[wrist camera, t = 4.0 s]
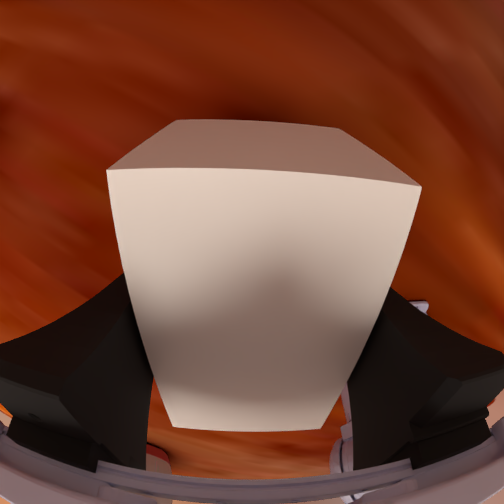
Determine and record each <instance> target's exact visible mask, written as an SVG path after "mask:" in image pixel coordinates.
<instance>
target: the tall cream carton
mask: <svg viewBox="0 0 504 504" xmlns="http://www.w3.org/2000/svg"><path fill="white" fill-rule="evenodd" d="M107 178H108V186H109V193H110V200H111V207H112V213H113V219H114V225H115V230H116V236H117V241H118V246H119V251H120V256H121V260H122V265H123V270H124V274H125V278H126V283H127V287H128V291H129V295H130V299H131V303H132V306H133V310H134V314H135V317H136V321H137V325H138V328H139V331H140V335H141V338H142V341H143V345H144V348H145V351H146V354H147V357H148V360H149V363H150V366H151V369H152V372H153V375H154V378H155V381H156V384H157V387H158V389H159V392H160V395H161V397H162V400H163V403H164V405H165V408H166V411H167V413H168V416H169V418H170V421H171V423H172V425H173V427H180V428H190V429H203V430H219V431H293V430H309V429H320V428H321V427H322V425H323V423H324V422H325V420H326V418H327V417H328V415H329V413H330V411H331V410H332V408H333V406H334V404H335V403H336V401H337V399H338V397H339V395H340V394H341V392H342V390H343V388H344V386H345V384H346V382H347V380H348V379H349V377H350V375H351V373H352V371H353V369H354V367H355V365H356V363H357V361H358V359H359V357H360V355H361V353H362V350H363V348H364V346H365V344H366V342H367V340H368V338H369V335H370V333H371V331H372V329H373V326H374V324H375V322H376V320H377V317H378V315H379V313H380V310H381V308H382V305H383V303H384V300H385V298H386V296H387V293H388V290H389V288H390V285H391V283H392V280H393V277H394V275H395V272H396V269H397V266H398V264H399V261H400V258H401V255H402V252H403V249H404V246H405V243H406V240H407V237H408V234H409V231H410V228H411V224H412V221H413V218H414V214H415V211H416V207H417V204H418V200H419V196H420V193H421V189H422V186H420V185H419V184H418V183H417V182H415V181H414V180H413V179H411V178H410V177H409V176H407V175H406V174H405V173H404V172H402V171H401V170H400V169H398V168H397V167H395V166H394V165H393V164H391V163H390V162H389V161H387V160H386V159H384V158H383V157H381V156H380V155H379V154H377V153H376V152H374V151H373V150H371V149H370V148H368V147H367V146H365V145H364V144H362V143H361V142H359V141H358V140H356V139H355V138H353V137H352V136H350V135H349V134H347V133H345V132H344V131H342V130H341V129H338V128H331V127H323V126H314V125H305V124H294V123H283V122H269V121H251V120H213V119H199V120H175V121H174V122H172V123H171V124H169V125H168V126H166V127H165V128H163V129H162V130H160V131H159V132H157V133H156V134H154V135H153V136H152V137H150V138H149V139H147V140H146V141H144V142H143V143H142V144H140V145H139V146H137V147H136V148H135V149H133V150H132V151H131V152H129V153H128V154H127V155H125V156H124V157H123V158H121V159H120V160H119V161H117V162H116V163H115V164H114V165H112V166H111V167H110V168H108V169H107Z"/></svg>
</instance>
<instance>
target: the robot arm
mask: <svg viewBox="0 0 504 504" xmlns="http://www.w3.org/2000/svg"><path fill="white" fill-rule="evenodd" d="M428 306H429V304H428V303H427V302H426V301H419V302H408V301H407V300H406V299H404V298H403V297H402V296H401V295H399V294H398V293H397V292H396V291H395V290H393V289H392V288H391V287H390V288H389V290H388V293H387V296H386V298H385V300H384V303H383V305H382V308H381V310H380V313H379V315H378V317H377V320H376V322H375V324H374V326H373V329H372V331H371V333H370V335H369V338H368V340H367V342H366V344H365V346H364V348H363V350H362V353H361V355H360V357H359V359H358V361H357V363H356V365H355V367H354V369H353V371H352V373H351V375H350V377H349V379H348V380H347V382H346V384H345V386H344V388H343V390H342V392H341V397H342V402H343V406H344V411H345V416H346V420H347V424H346V425H343V426H341V433H342V438H340V439H338V440H337V441H336V442H335V444H334V446H333V449H332V451H331V454H330V473H331V474H330V475H322V476H313V477H302V478H289V479H268V480H232V479H211V478H198V477H188V476H179V475H171V474H164V473H157V472H151V471H146V445H147V428H148V416H149V406H150V398H151V390H152V383H153V377H154V375H153V372H152V369H151V366H150V363H149V360H148V357H147V354H146V351H145V348H144V345H143V341H142V338H141V335H140V331H139V328H138V325H137V321H136V317H135V314H134V310H133V306H132V303H131V299H130V295H129V291H128V287H127V283H126V278H125V274H124V273H123V274H122V275H120V276H119V277H118V278H117V279H116V280H114V281H113V282H112V283H111V284H109V285H108V286H107V287H106V288H105V289H103V290H102V291H101V292H99V293H98V294H97V295H95V296H94V297H93V298H91V299H90V300H88V301H87V302H85V303H84V304H83V305H81V306H80V307H78V308H76V309H75V310H73V311H71V312H70V313H68V314H66V315H64V316H63V317H61V318H59V319H58V320H56V321H54V322H52V323H50V324H48V325H46V326H44V327H42V328H40V329H38V330H36V331H33V332H31V333H29V334H27V335H24V336H21V337H19V338H16V339H13V340H11V341H8V342H5V343H2V344H0V403H1V404H2V405H3V406H4V407H5V408H6V409H7V410H8V411H9V412H10V413H11V414H12V415H13V417H12V420H11V423H10V425H9V427H7V426H5V425H4V424H3V423H2V422H1V421H0V497H2V498H3V499H5V500H6V501H8V502H10V503H11V504H158V503H157V501H156V500H155V499H153V498H149V497H145V496H141V495H137V494H134V493H138V494H143V495H148V496H153V497H159V498H166V499H173V500H181V501H190V502H199V503H213V504H284V503H297V502H307V501H316V500H324V499H331V498H336V497H340V498H341V499H342V500H343V501H344V503H345V504H481V503H483V502H484V501H486V500H487V499H489V498H490V497H492V496H493V495H495V494H496V493H498V492H499V491H500V490H502V489H503V488H504V417H502V418H501V419H500V420H499V421H497V422H496V423H495V424H494V425H493V426H492V428H490V429H489V428H488V425H487V422H486V420H485V418H487V417H488V416H489V411H488V409H487V407H486V406H487V405H488V404H489V403H490V402H491V401H492V400H493V399H494V398H495V397H496V396H497V395H498V394H499V393H500V392H501V391H502V390H503V389H504V355H503V353H502V352H500V351H498V350H495V349H492V348H490V347H487V346H485V345H482V344H479V343H477V342H475V341H473V340H471V339H468V338H466V337H464V336H462V335H460V334H458V333H456V332H454V331H453V330H451V329H449V328H447V327H446V326H444V325H442V324H440V323H439V322H437V321H435V320H434V319H432V318H431V317H429V316H428V315H427V313H426V311H427V309H428ZM127 491H128V492H127ZM131 492H133V493H131Z"/></svg>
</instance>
